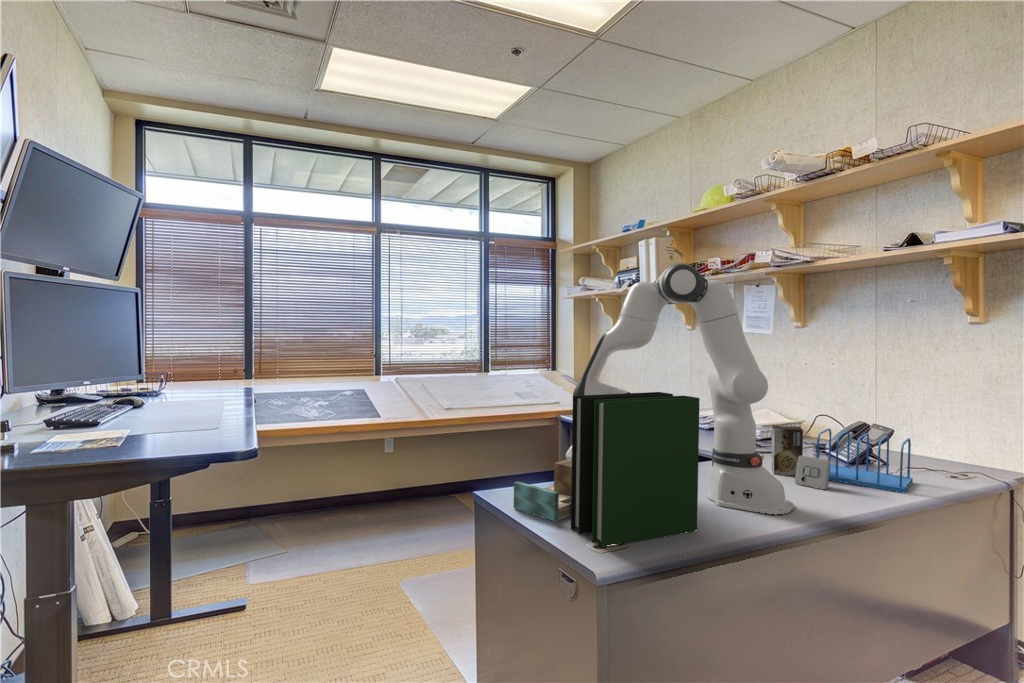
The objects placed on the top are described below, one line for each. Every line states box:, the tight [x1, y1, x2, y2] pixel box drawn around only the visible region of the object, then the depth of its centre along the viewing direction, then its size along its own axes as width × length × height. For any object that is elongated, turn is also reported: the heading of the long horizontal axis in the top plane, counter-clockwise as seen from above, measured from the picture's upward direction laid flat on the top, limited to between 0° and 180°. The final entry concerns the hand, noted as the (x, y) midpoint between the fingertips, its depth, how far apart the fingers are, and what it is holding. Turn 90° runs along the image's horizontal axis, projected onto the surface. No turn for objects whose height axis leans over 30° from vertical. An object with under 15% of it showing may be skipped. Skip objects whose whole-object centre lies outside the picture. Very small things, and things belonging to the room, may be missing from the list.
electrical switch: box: [794, 455, 832, 490], centre depth 172 cm, size 9×5×9 cm, turn 41°
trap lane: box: [513, 481, 571, 522], centre depth 147 cm, size 14×20×7 cm
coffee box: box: [770, 424, 804, 477], centre depth 187 cm, size 9×6×16 cm
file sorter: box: [816, 428, 913, 493], centre depth 179 cm, size 25×17×15 cm
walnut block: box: [553, 459, 572, 496], centre depth 151 cm, size 6×8×8 cm
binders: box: [570, 391, 701, 548], centre depth 130 cm, size 27×15×32 cm, turn 116°
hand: (586, 479), depth 156 cm, fingers closed
